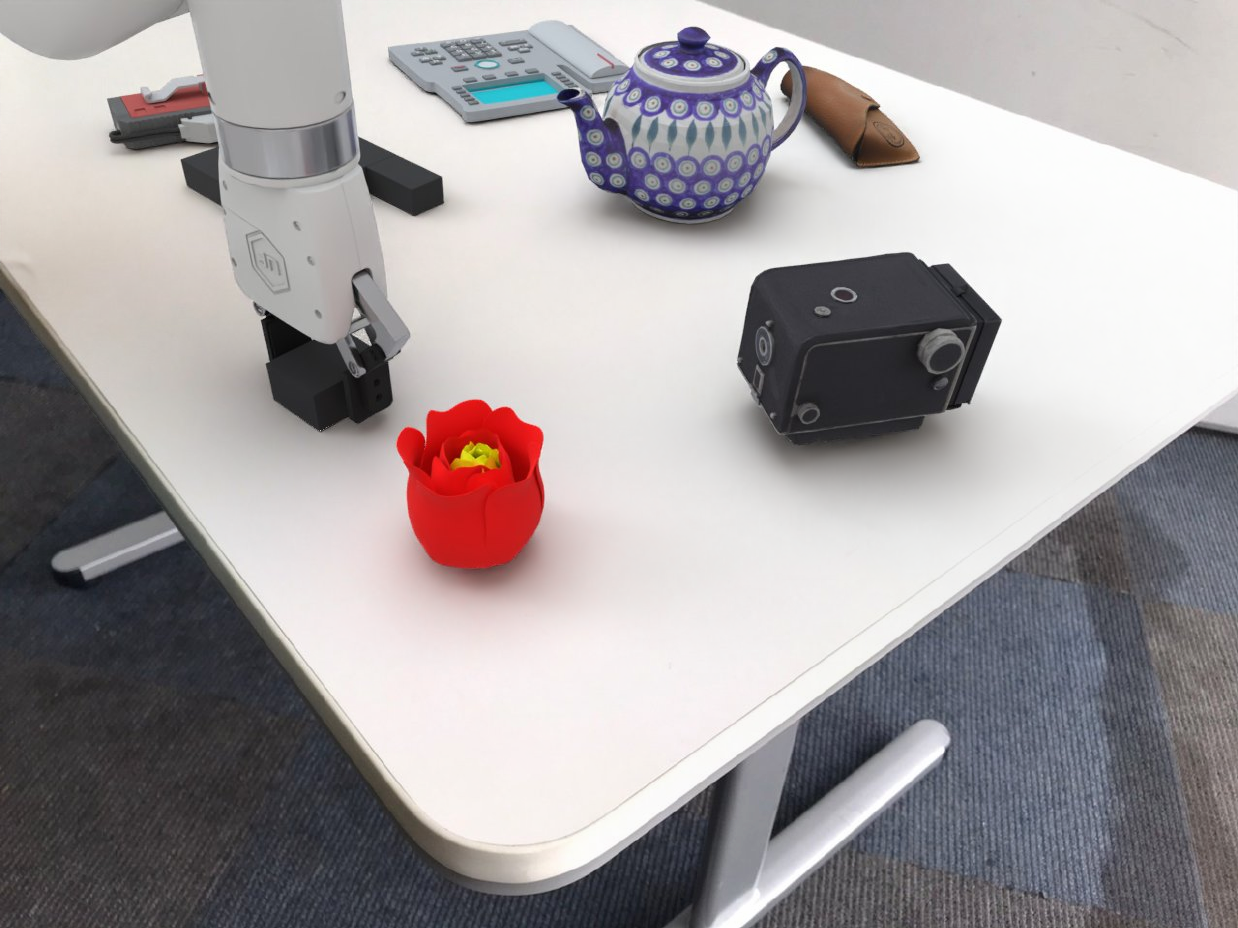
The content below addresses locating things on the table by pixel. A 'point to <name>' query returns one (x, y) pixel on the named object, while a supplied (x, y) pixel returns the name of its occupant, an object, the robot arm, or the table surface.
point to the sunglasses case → (853, 120)
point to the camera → (862, 345)
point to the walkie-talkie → (164, 115)
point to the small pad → (312, 382)
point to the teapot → (685, 127)
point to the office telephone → (509, 69)
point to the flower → (473, 484)
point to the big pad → (380, 168)
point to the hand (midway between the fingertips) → (331, 384)
